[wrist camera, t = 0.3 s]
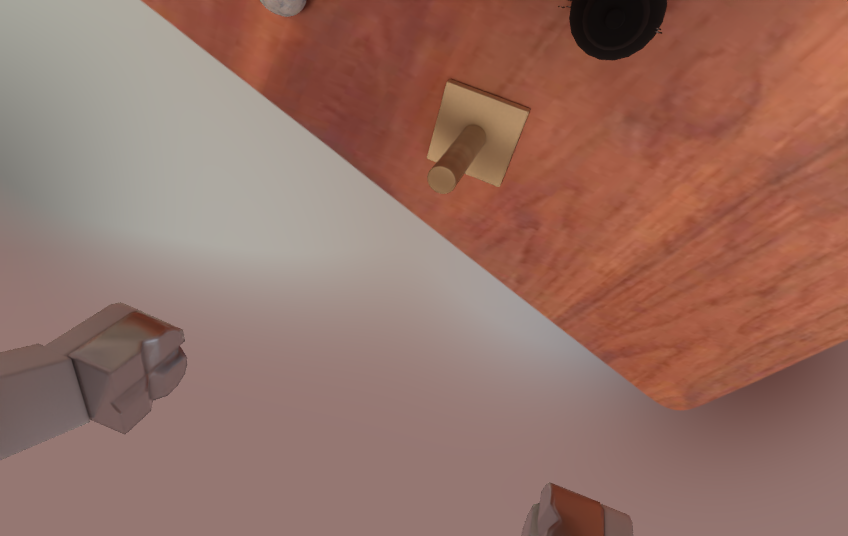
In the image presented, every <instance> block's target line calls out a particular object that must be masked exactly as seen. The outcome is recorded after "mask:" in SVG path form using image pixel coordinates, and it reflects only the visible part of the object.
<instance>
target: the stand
mask: <svg viewBox="0 0 848 536" xmlns="http://www.w3.org/2000/svg"><path fill="white" fill-rule="evenodd" d="M529 112H530V109H529V108H527V107H524V106H521V105H519V104H516V103H513V102H511V101H508V100H505V99H503V98H500V97H497V96H495V95H492V94H489V93H486V92H484V91H481V90H478V89H476V88H473V87H470V86H468V85H465V84H462V83H460V82H457V81H454V80H452V79H449V80H448V81H447V83H446V87H445V90H444V94H443V98H442V102H441V106H440V109H439V113H438V117H437V121H436V125H435V129H434V132H433V136H432V140H431V144H430V148H429V151H428V155H427V159H429V160H432V161H434V162H437V163H436V164H435V165H434V166H433V167H432V169H431V170H430V171H429V173H428V183H429V185H430V187H431V188H432V189H433V190H434V191H436V192H438V193H441V194H446V193H449V192H451V191H452V190H453V189H454V188H455V186H456V185H457V183H458V182H459V181H460V179H461V178H462V176H463V175H464V173H465V174H467V175H470V176H472V177H475V178H477V179H480V180H482V181H485V182H487V183H490V184H492V185H495V186H497V187H500V185H501V183H502V181H503V178H504V175H505V173H506V170H507V168H508V165H509V163H510V160H511V158H512V155H513V153H514V150H515V148H516V145H517V142H518V140H519V137H520V135H521V132H522V130H523V127H524V125H525V122H526V120H527V117H528V115H529Z"/></svg>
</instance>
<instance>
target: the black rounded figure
mask: <svg viewBox="0 0 848 536" xmlns="http://www.w3.org/2000/svg"><path fill="white" fill-rule="evenodd" d="M569 1H572V4H571V7H570V6H566V7H570V8H571V11H570V17H569V20H570V27H571V33H572V35H573V37H574V39H575V41H576V43H577V45H578V46H579V47H580V48H581V49H582V50H583V51H584V52H585V53H587V54H588V55H590V56H593V57H595V58H597V59H600V60H617V59H621V58H625V57H629V56H630V55H632V54H634V53H636V52H637V51H639V50H641V49H642V48H643V47H644V46H645V45H646V44H647V43H648V42H649V41H650V40H651V39H652V38H653V37H654V36H655V34H656V32H657V33H661V34H662V32H658V29H659V27H660V26H661V24H662V22H663V18H664V15H665V11H666V7H667V0H569ZM558 7H562V6H558ZM562 8H565V7H562ZM659 30H661V29H659Z"/></svg>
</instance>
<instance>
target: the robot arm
mask: <svg viewBox="0 0 848 536" xmlns="http://www.w3.org/2000/svg"><path fill="white" fill-rule="evenodd" d="M184 341H185V339H184V334H183V330H182V329H180V328H178V327H175V326H173V325H171V324H169V323H166V322H164V321H162V320H160V319H157V318H155V317H153V316H150V315H148V314H146V313H144V312H142V311H139V310H137V309H135V308H133V307H130V306H128V305H126V304H123V303H115V304H111V305H109V306H107V307H106V308H104V309H103V310H101V311H100V312H98V313H96V314H95V315H93V316H92V317H90V318H88V319H87V320H85V321H84V322H82V323H81V324H79V325H77V326H76V327H74V328H72V329H71V330H69V331H68V332H66V333H64V334H63V335H61V336H60V337H58V338H57V339H55V340H53V341H52V342H50V343H49V344H47V345H46V346H43V345H40V344H35V345H31V346H26V347H22V348H18V349H13V350H9V351H5V352H0V460H2V459H4V458H7V457H9V456H11V455H14V454H16V453H18V452H20V451H23V450H25V449H28V448H30V447H32V446H35V445H37V444H39V443H42V442H44V441H47V440H49V439H51V438H53V437H56V436H58V435H61V434H63V433H65V432H68V431H70V430H72V429H75V428H77V427H79V426H82V425H84V424H86V423H89V422H90V420H93V421H95V422H97V423H100V424H102V425H104V426H106V427H109V428H111V429H113V430H116V431H118V432H120V433H123V434H126V433H127V432H129V431H130V430H131V429H132V428H133V427H134V426H135V425H136V424H137V423H138V422H139V421H140V420H141V419H143V418H144V417H145V416H146V415H147V414H148V413H149V412H150V411H151V408H152V403H153V400H156V399H159V398H162V397H165V396H167V395H169V394H170V393H171V392H172V391H173V390H174V389H175V388H176V387H177V386H178V384H179V382H180V381H181V379H182V378H183V376H184V374H185V371H186V367H187V357H186V355H185V353H184V352H183V350H182V349H181V347H180V345H181V344H182V343H183V342H184ZM521 536H633V526H632V521H631V518H630V516H629V515H627V514H625V513H622V512H620V511H617V510H615V509H613V508H610V507H607V506H605V505H603V504H600V502H597V501H595V500H592V499H590V498H587V497H585V496H582V495H580V494H578V493H575V492H573V491H570V490H567V489H565V488H563V487H560V486H558V485H555V484H553V483H548V484H546V485H545V487H544V489H543V490H542V492H541V498H540V503H538V504H534V505H533V506H532V508H531V510H530V512H529V513H528V515H527V518H526V521H525V524H524V527H523V531H522V535H521Z"/></svg>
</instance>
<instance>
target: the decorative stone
mask: <svg viewBox="0 0 848 536" xmlns="http://www.w3.org/2000/svg"><path fill="white" fill-rule="evenodd" d="M260 2H261V3H262V4H263V5H264V6H265V8H267V9H268V10H270V11H271V12H273V13H275V14H278V15H281V16H285V17H287V16H294V15H296V14H298V13H299V12H300V11H301V10H302V9H303V8H304V6H305V4H306V0H260Z"/></svg>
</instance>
